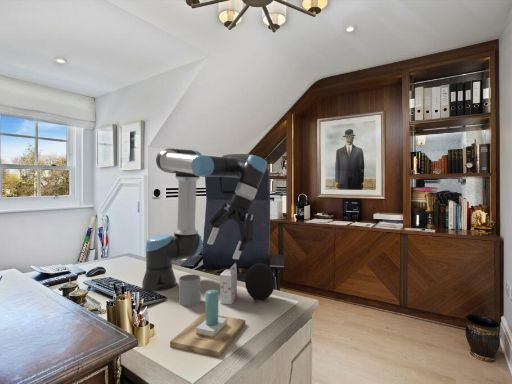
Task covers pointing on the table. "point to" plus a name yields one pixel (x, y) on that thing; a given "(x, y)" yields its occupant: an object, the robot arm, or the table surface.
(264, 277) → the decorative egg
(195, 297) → the cup
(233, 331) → the board
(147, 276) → the robot arm
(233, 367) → the table surface
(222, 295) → the ink cartridge box
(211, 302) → the teal cylinder on base
